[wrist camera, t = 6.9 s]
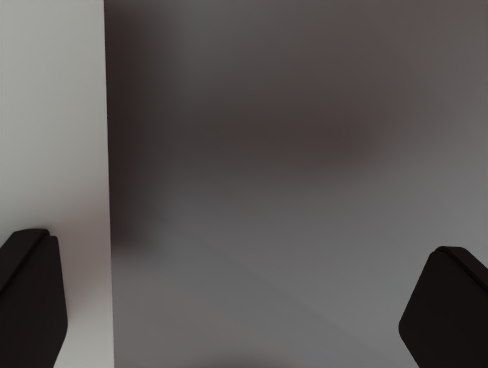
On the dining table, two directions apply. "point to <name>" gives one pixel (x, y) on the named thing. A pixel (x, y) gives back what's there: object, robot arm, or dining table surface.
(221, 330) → the dining table surface
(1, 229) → the carton
